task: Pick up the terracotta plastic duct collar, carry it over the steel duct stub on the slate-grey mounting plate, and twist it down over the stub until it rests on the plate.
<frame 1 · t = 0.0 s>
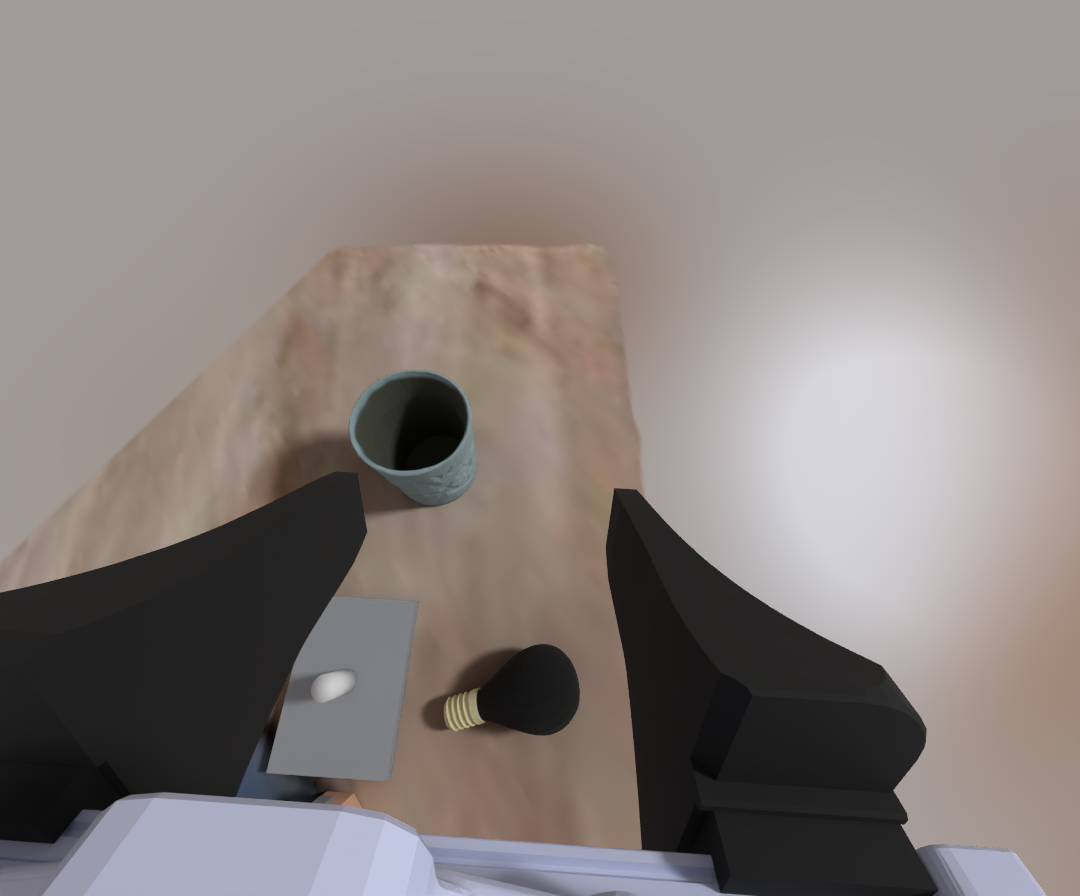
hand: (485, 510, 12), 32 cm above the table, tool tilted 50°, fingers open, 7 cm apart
collar: (332, 832, 35), on the table
duct plate: (351, 679, 39), on the table
green cup: (440, 467, 47), on the table
light bulb: (512, 686, 39), on the table
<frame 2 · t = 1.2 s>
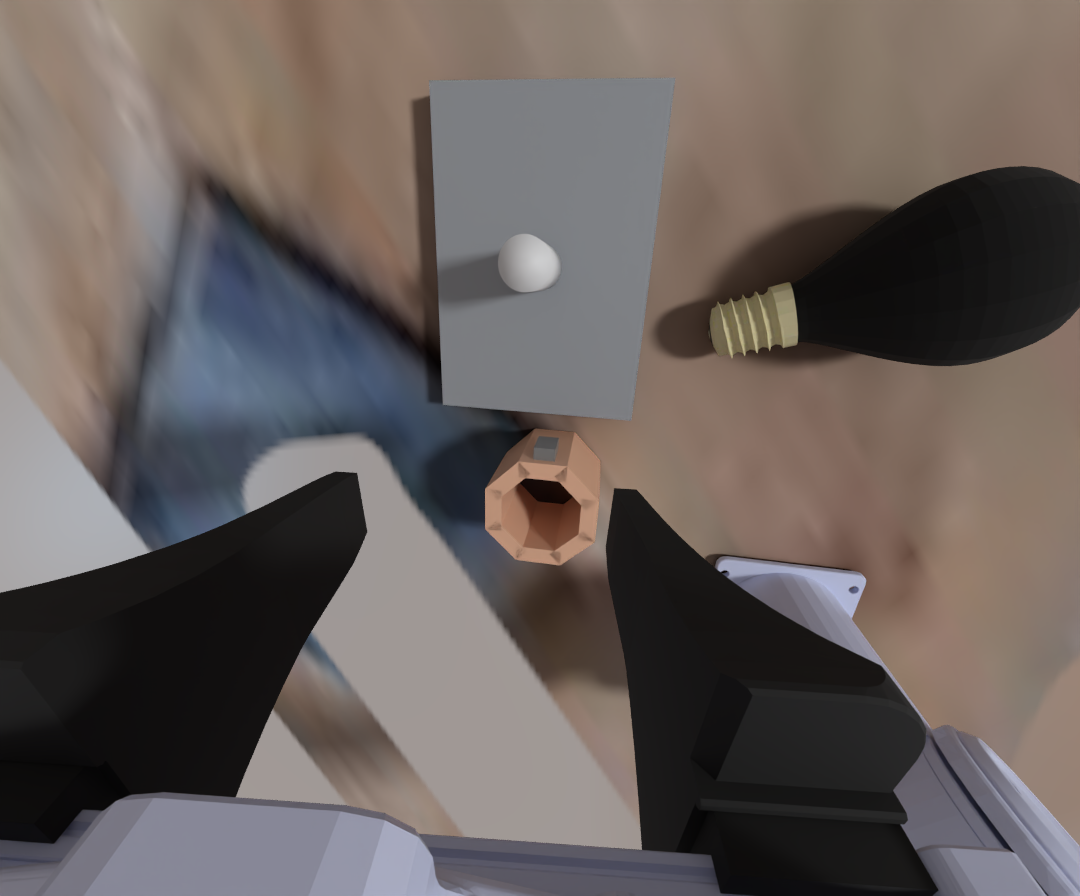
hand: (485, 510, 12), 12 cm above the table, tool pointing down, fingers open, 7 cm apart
collar: (552, 474, 25), on the table
duct plate: (543, 268, 21), on the table
light bulb: (835, 284, 19), on the table
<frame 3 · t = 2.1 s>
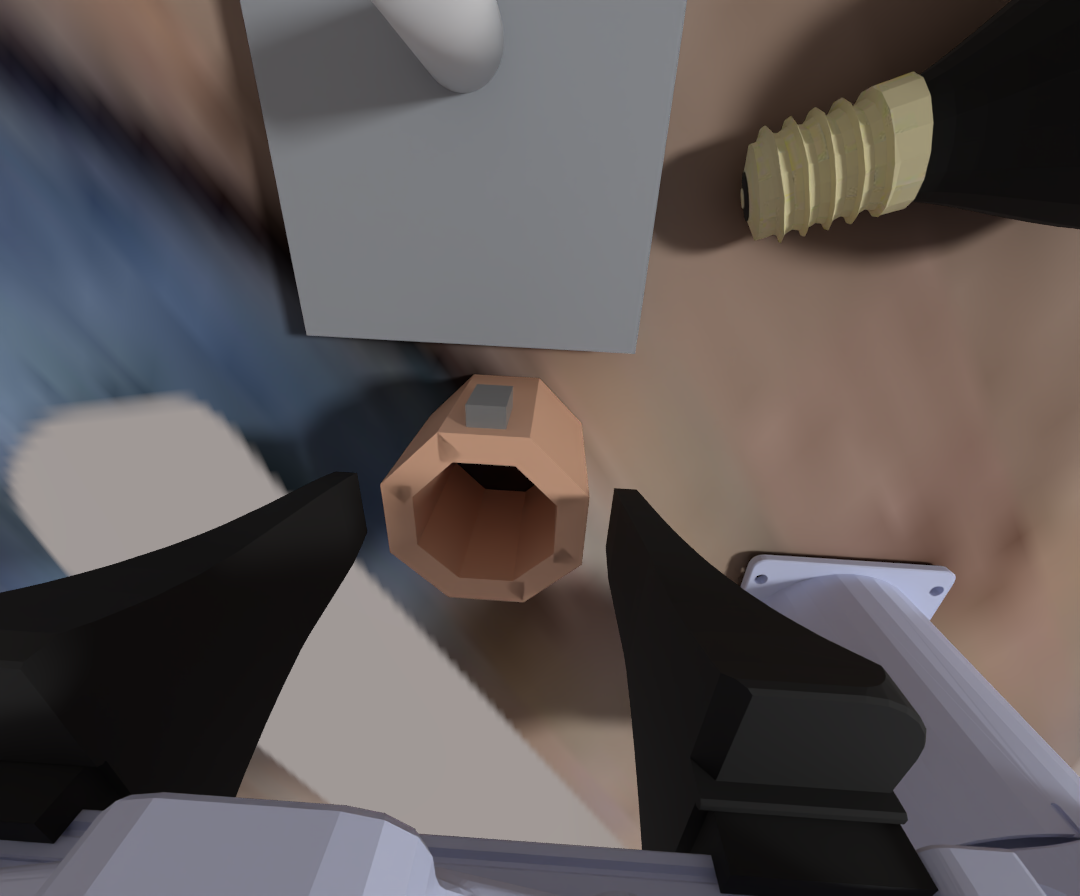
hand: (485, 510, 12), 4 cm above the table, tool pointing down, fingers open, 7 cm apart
collar: (505, 446, 16), on the table
duct plate: (470, 57, 11), on the table
light bulb: (956, 106, 11), on the table
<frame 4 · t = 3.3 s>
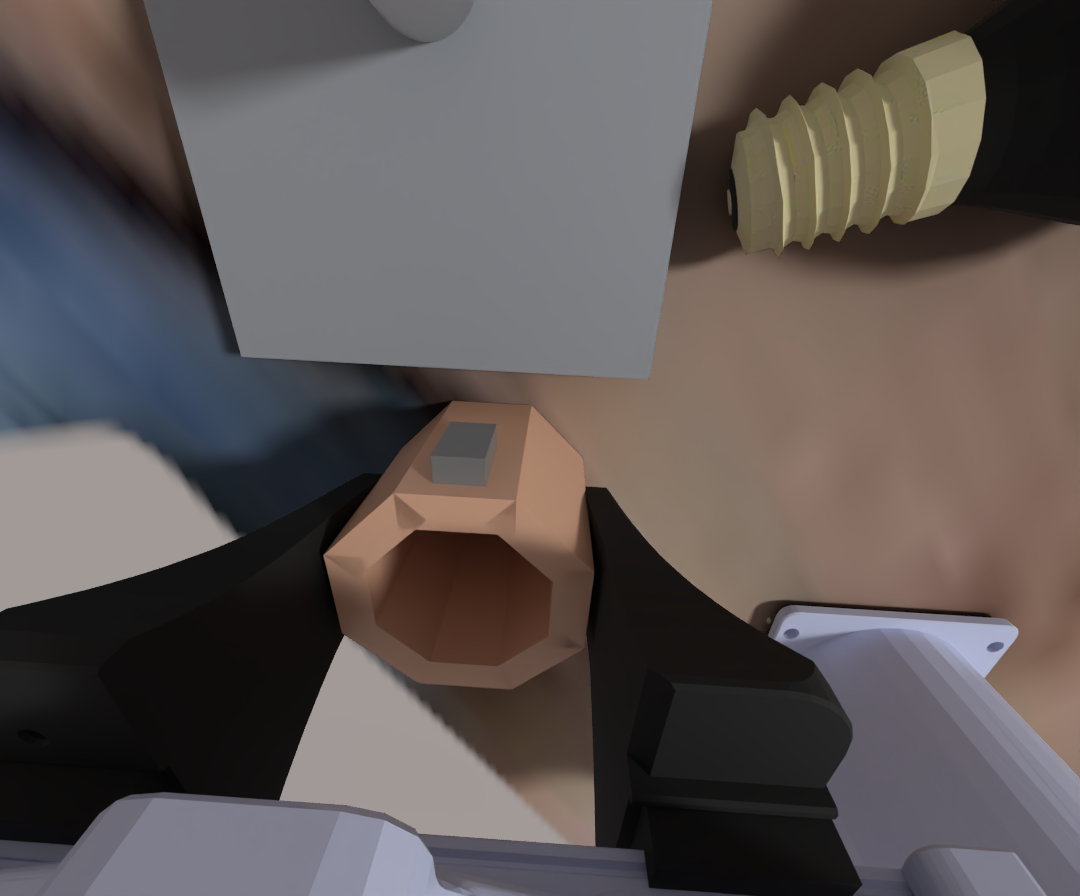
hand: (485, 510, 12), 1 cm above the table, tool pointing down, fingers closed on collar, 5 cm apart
collar: (492, 484, 13), on the table, touching gripper
light bulb: (997, 82, 9), on the table
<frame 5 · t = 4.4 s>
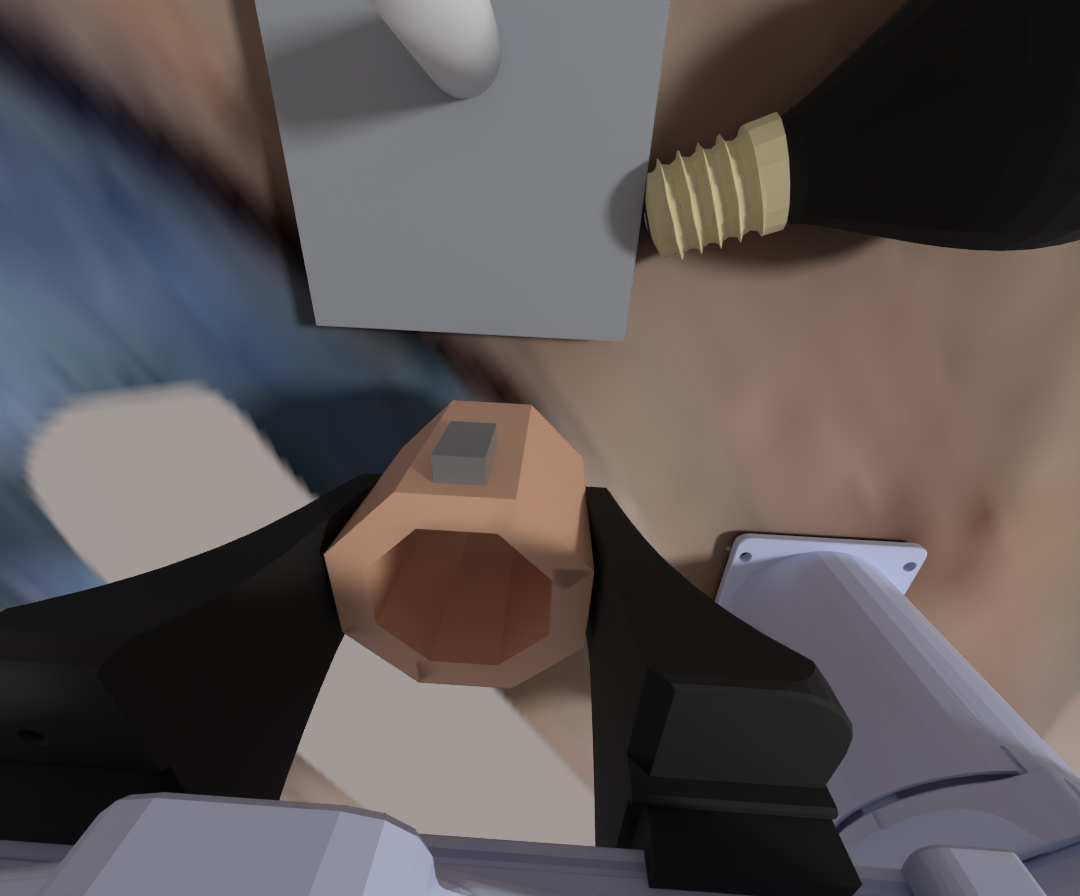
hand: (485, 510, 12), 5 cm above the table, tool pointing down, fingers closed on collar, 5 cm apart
collar: (492, 483, 13), point 4 cm above the table, touching gripper
duct plate: (470, 65, 12), on the table
light bulb: (837, 133, 12), on the table
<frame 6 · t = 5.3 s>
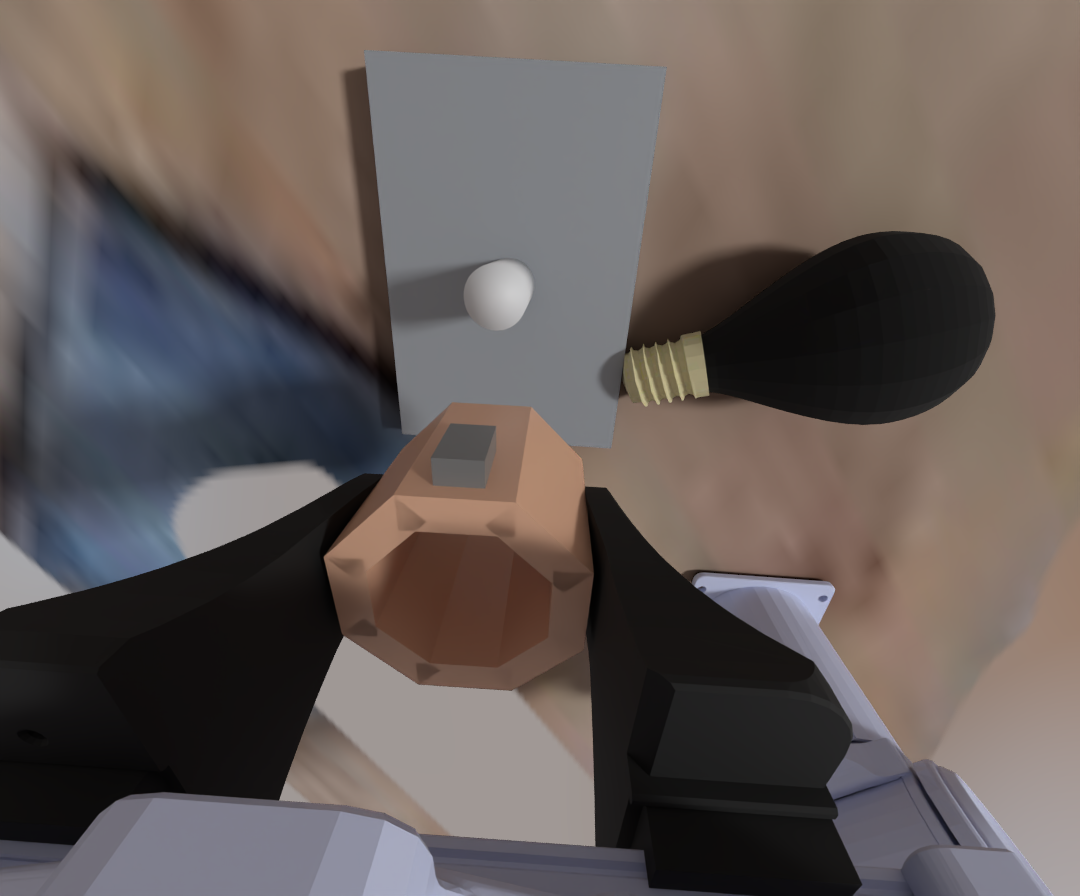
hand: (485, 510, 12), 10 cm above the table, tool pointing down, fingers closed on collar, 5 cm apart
collar: (492, 485, 13), point 8 cm above the table, touching gripper
duct plate: (512, 282, 18), on the table
light bulb: (749, 325, 19), on the table
when the fingers open (3 cm above the table, at t = 7.6 s): collar stays where it is, resting on duct plate.
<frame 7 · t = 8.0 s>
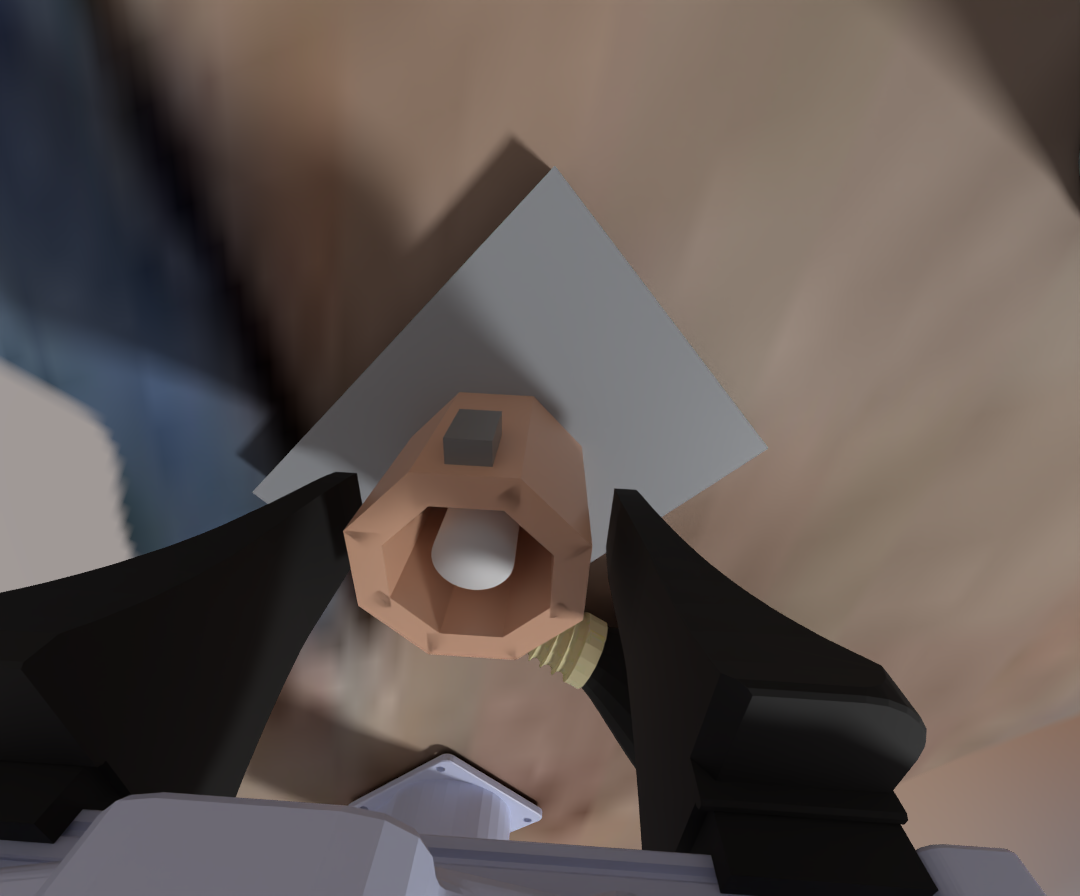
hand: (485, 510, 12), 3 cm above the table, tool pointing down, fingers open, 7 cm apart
collar: (496, 472, 14), point 1 cm above the table, touching duct plate
duct plate: (500, 454, 15), on the table
light bulb: (645, 623, 19), on the table
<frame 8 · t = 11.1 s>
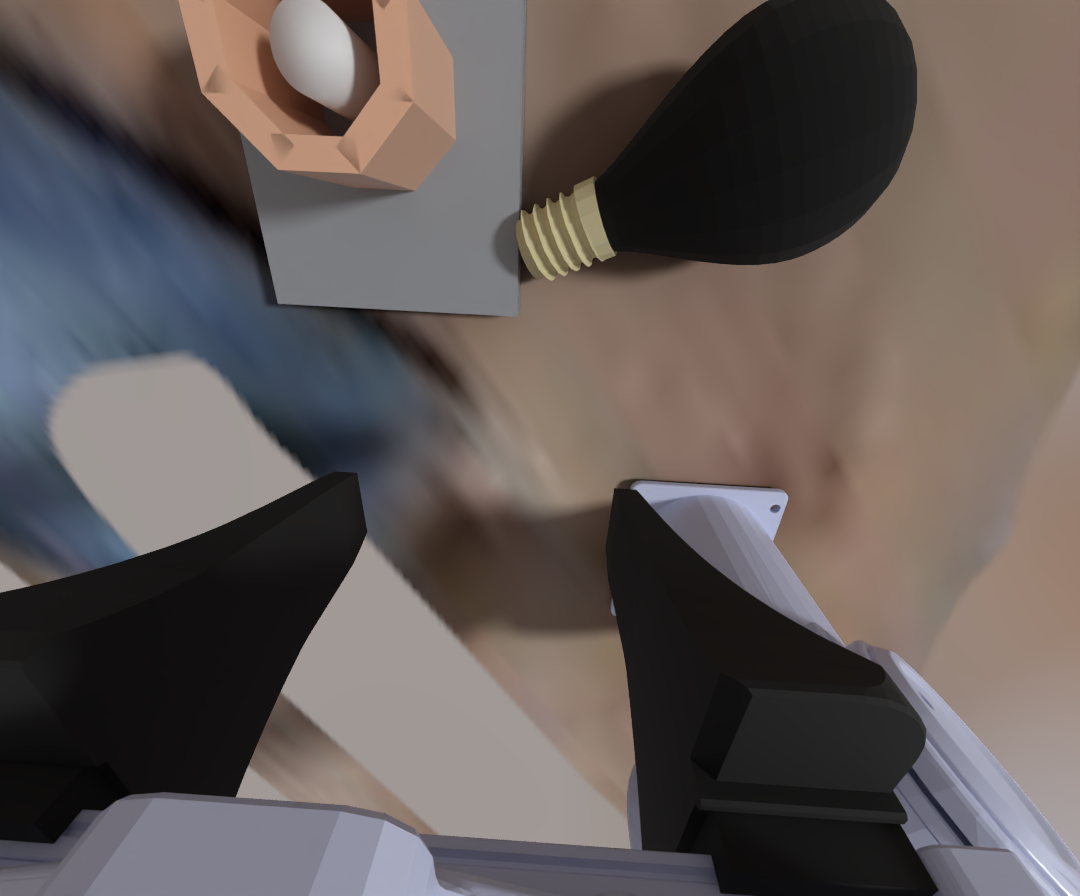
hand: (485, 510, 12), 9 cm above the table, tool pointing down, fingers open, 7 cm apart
collar: (375, 97, 14), point 1 cm above the table, touching duct plate
duct plate: (387, 106, 15), on the table
light bulb: (663, 180, 16), on the table
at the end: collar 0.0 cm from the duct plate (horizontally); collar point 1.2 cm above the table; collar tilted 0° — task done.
